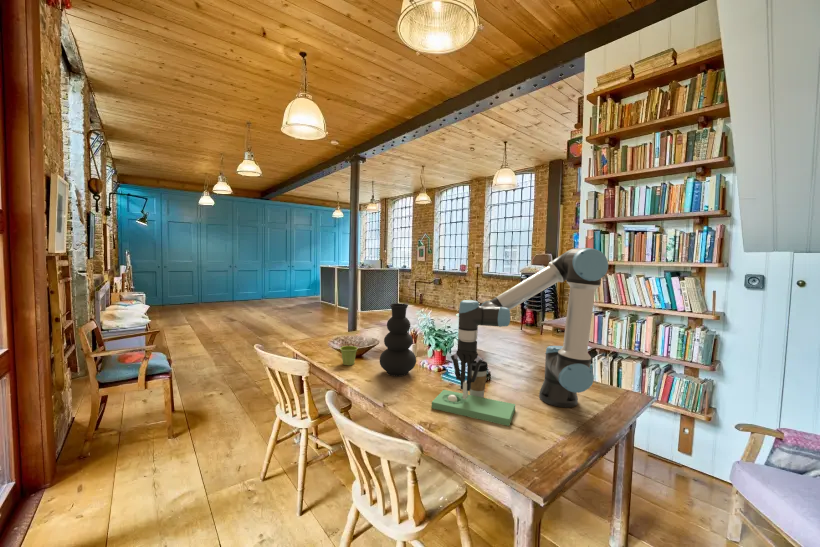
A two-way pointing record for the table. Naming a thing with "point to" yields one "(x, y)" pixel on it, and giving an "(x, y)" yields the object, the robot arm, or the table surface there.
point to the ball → (452, 398)
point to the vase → (398, 343)
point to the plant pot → (348, 354)
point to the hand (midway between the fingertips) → (465, 397)
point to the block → (475, 407)
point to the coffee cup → (479, 380)
